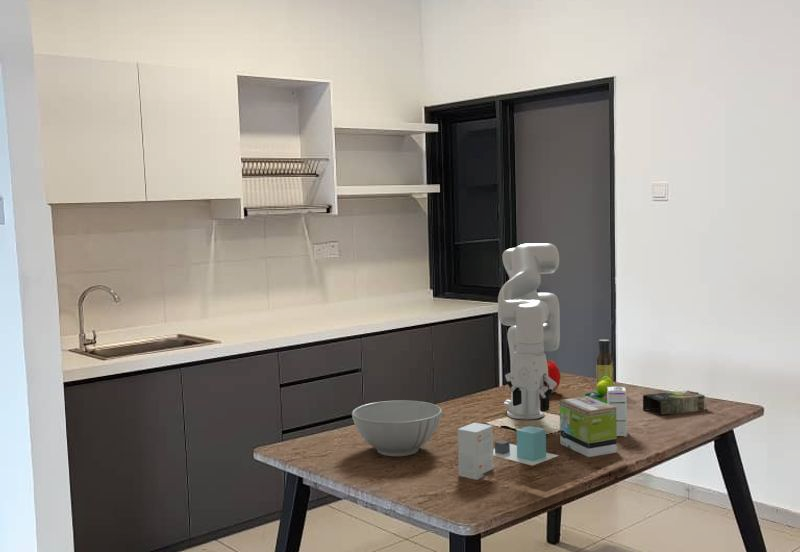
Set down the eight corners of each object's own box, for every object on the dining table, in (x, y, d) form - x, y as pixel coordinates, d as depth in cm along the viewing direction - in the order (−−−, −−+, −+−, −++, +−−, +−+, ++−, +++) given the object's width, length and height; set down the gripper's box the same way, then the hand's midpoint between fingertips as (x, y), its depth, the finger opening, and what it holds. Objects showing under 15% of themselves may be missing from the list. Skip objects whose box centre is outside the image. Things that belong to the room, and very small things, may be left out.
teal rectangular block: (517, 457, 237) (516, 430, 236) (529, 452, 241) (529, 425, 240) (533, 461, 233) (533, 433, 232) (546, 456, 237) (545, 429, 236)
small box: (475, 468, 232) (474, 422, 231) (494, 472, 228) (493, 425, 227) (457, 476, 226) (456, 428, 225) (477, 480, 222) (476, 432, 221)
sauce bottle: (616, 393, 316) (616, 340, 315) (601, 394, 315) (600, 341, 313) (608, 389, 323) (608, 338, 321) (593, 390, 321) (593, 339, 320)
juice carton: (689, 404, 297) (689, 387, 297) (708, 410, 288) (708, 393, 287) (641, 411, 290) (641, 393, 290) (660, 418, 281) (660, 400, 280)
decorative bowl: (451, 460, 240) (450, 418, 239) (358, 467, 236) (357, 425, 234) (432, 435, 266) (431, 397, 265) (348, 441, 262) (347, 403, 261)
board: (482, 456, 242) (482, 442, 242) (509, 447, 250) (509, 433, 250) (532, 469, 229) (532, 454, 229) (559, 459, 237) (558, 445, 237)
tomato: (564, 390, 323) (563, 356, 322) (556, 397, 312) (555, 362, 310) (534, 388, 327) (534, 355, 326) (526, 395, 316) (525, 361, 315)
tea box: (558, 447, 249) (558, 398, 248) (587, 443, 253) (587, 395, 251) (588, 461, 235) (587, 409, 234) (618, 456, 239) (617, 405, 238)
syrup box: (627, 437, 258) (627, 390, 257) (607, 436, 259) (607, 390, 258) (626, 432, 263) (626, 386, 262) (607, 431, 265) (606, 386, 263)
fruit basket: (581, 409, 294) (581, 377, 293) (596, 404, 300) (595, 373, 299) (609, 414, 286) (609, 381, 285) (624, 409, 292) (623, 377, 291)
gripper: (497, 346, 238) (498, 405, 240) (546, 354, 225) (547, 416, 227) (514, 342, 243) (515, 400, 245) (563, 349, 231) (564, 410, 232)
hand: (530, 407), depth 236 cm, fingers open, 9 cm apart
